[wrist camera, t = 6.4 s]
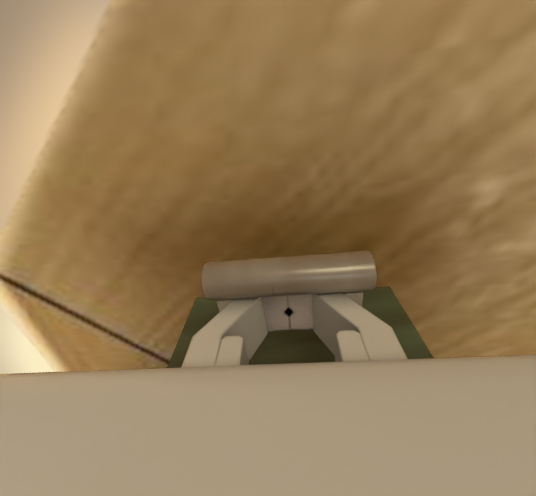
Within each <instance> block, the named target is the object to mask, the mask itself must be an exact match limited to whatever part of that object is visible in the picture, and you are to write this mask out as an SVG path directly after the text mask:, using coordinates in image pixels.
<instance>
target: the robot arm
mask: <svg viewBox="0 0 536 496" xmlns="http://www.w3.org/2000/svg"><path fill="white" fill-rule="evenodd" d="M288 330H314V332H315V333H316V334H317V336H318V337H319V338H320V339H321V340H322V341H323V343H324V344H325V345H326V346H327V347H328V348H329V350H330V351H331V352H332V353H333V354H334V355H335V362H317V363H289V364H261V365H249V360H250V359H251V358H252V356H253V355H254V353H255V352H256V350H257V349H258V347H259V346H260V344H261V343H262V341H263V340H264V338H265V337H266V335H267V334H268V332H274V331H288ZM0 496H536V355H509V356H482V357H455V358H427V359H407V357H406V355H405V353H404V351H403V349H402V347H401V345H400V343H399V341H398V339H397V337H396V335H395V333H394V331H393V329H392V327H390V326H389V325H388V324H386V323H385V322H383V321H382V320H380V319H379V318H377V317H376V316H375V315H373V314H372V313H370V312H369V311H367V310H366V309H364V308H363V307H362V306H360V305H359V304H357V303H356V302H354V301H353V300H351V299H350V298H348V297H347V296H346V295H344V294H343V293H325V294H308V295H291V296H274V297H257V298H240V299H234V300H233V301H232V302H231V303H230V304H229V305H227V306H226V307H225V308H224V309H223V310H222V311H221V312H220V313H218V314H217V315H216V316H215V317H214V318H213V319H212V320H211V321H209V322H208V323H207V324H206V325H205V326H204V327H203V328H202V329H200V330H199V331H198V332H197V333H196V334H195V335H194V336H193V337H192V340H191V342H190V345H189V348H188V351H187V353H186V356H185V359H184V361H183V364H182V367H181V368H154V369H125V370H98V371H70V372H45V373H44V372H43V373H17V374H0Z"/></svg>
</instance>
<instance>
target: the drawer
mask: <svg viewBox="0 0 536 496" xmlns="http://www.w3.org/2000/svg"><path fill="white" fill-rule="evenodd" d="M376 280H377V272H376V265H375V261H374V258H373V256H372V254H371V253H370V252H369V251H354V252H340V253H326V254H313V255H299V256H285V257H271V258H257V259H244V260H230V261H216V262H207V263H205V264H204V266H203V269H202V276H201V284H202V290H203V294H204V297H205V298H197V299H196V300H195V303H194V305H193V307H192V310H191V312H190V314H189V317H188V319H187V322H186V324H185V326H184V329H183V331H182V334H181V336H180V338H179V341H178V343H177V345H176V348H175V350H174V353H173V355H172V357H171V360H170V362H169V364H168V367H167V368H181V367H182V364H183V361H184V359H185V356H186V353H187V351H188V348H189V345H190V342H191V340H192V337H193V336H194V335H195V334H196V333H197V332H198V331H199V330H200V329H202V328H203V327H204V326H205V325H206V324H207V323H208V322H209V321H211V320H212V319H213V318H214V317H215V316H216V315H217V314H218V313H220V312H221V311H222V310H223V309H224V308H225V307H226V306H227V305H229V304H230V303H231V302H232V301H233V300H234V299H240V298H257V297H274V296H291V295H308V294H325V293H343V294H344V295H346V296H347V297H348V298H350V299H351V300H353V301H354V302H356V303H357V304H359V305H360V306H362V307H363V308H364V309H366V310H367V311H369V312H370V313H372V314H373V315H375V316H376V317H377V318H379V319H380V320H382V321H383V322H385V323H386V324H388V325H389V326H390V327H392V329H393V331H394V333H395V335H396V337H397V339H398V341H399V343H400V345H401V347H402V349H403V351H404V353H405V355H406V357H407V359H427V358H433V356H432V355H431V353H430V351H429V350H428V348H427V347H426V345H425V343H424V342H423V340H422V338H421V337H420V335H419V334H418V332H417V330H416V329H415V327H414V325H413V324H412V322H411V321H410V319H409V317H408V316H407V314H406V312H405V311H404V309H403V307H402V306H401V304H400V303H399V301H398V299H397V298H396V296H395V294H394V293H393V291H392V290H391V288H390V287H376V288H375V286H376ZM317 362H335V355H334V354H333V353H332V352H331V351H330V350H329V348H328V347H327V346H326V345H325V344H324V343H323V341H322V340H321V339H320V338H319V337H318V336H317V334H316V333H315V332H314V330H288V331H274V332H268V334H267V335H266V337H265V338H264V340H263V341H262V343H261V344H260V346H259V347H258V349H257V350H256V352H255V353H254V355H253V356H252V358H251V359H250V360H249V365H261V364H289V363H317Z"/></svg>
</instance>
